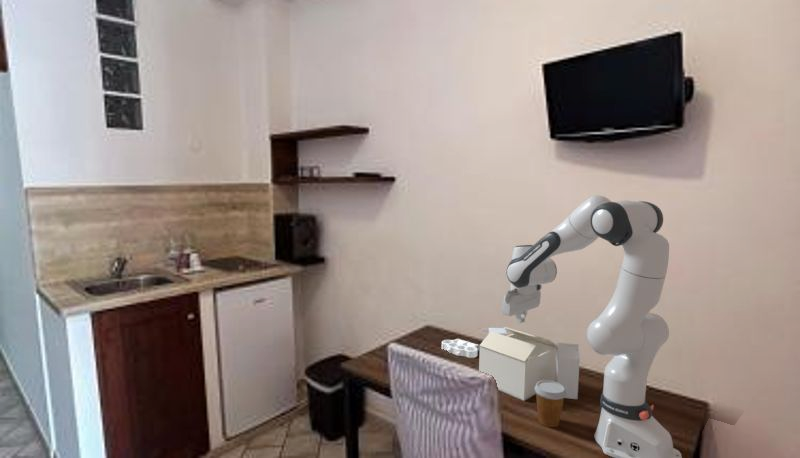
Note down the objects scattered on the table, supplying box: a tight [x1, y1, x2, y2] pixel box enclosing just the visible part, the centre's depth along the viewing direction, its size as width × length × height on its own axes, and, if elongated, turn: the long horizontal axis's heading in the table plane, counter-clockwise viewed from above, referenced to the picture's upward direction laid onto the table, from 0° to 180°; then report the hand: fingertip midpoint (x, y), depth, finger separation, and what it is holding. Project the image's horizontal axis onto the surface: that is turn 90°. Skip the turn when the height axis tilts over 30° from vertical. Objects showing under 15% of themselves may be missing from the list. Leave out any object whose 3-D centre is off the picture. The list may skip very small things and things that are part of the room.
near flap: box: [479, 331, 536, 362], centre depth 165 cm, size 20×8×1 cm, turn 42°
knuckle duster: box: [441, 338, 480, 359], centre depth 203 cm, size 3×18×15 cm
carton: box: [478, 333, 557, 402], centre depth 171 cm, size 20×22×14 cm
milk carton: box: [554, 342, 581, 400], centre depth 162 cm, size 7×7×19 cm
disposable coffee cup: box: [535, 381, 566, 428], centre depth 143 cm, size 10×10×12 cm
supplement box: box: [487, 327, 508, 336], centre depth 194 cm, size 7×7×13 cm
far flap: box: [503, 326, 557, 347], centre depth 175 cm, size 20×8×1 cm, turn 42°
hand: (520, 322), depth 170 cm, fingers closed
